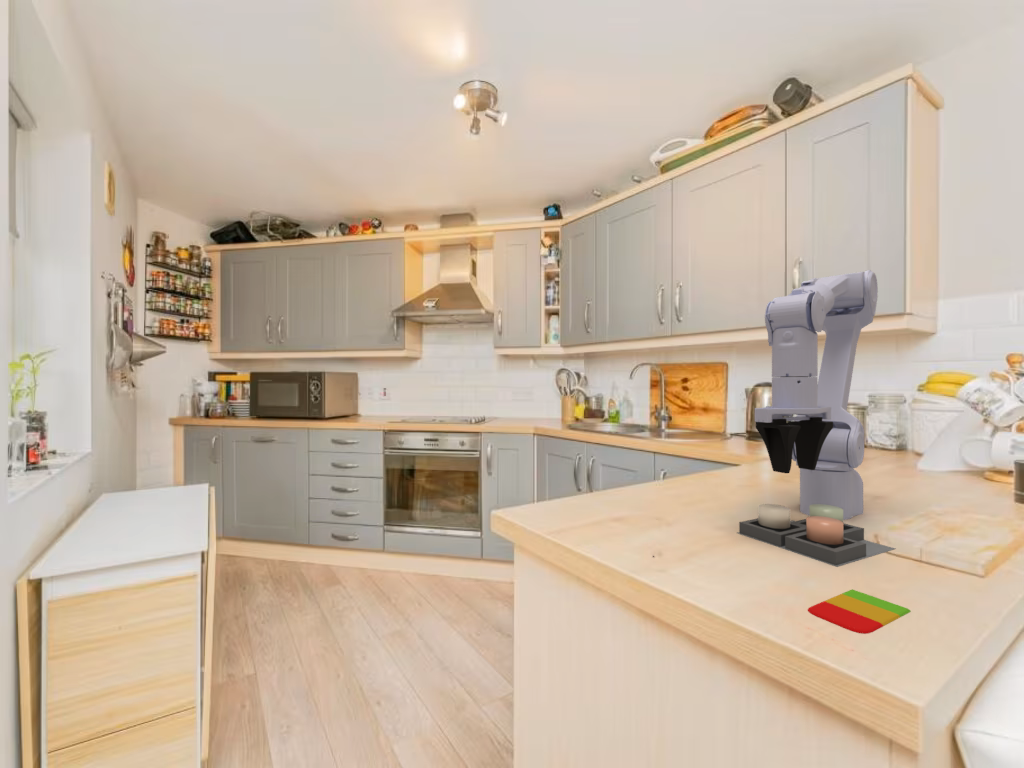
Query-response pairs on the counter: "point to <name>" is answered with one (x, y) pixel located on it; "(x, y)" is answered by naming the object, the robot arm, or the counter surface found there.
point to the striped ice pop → (858, 611)
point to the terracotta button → (824, 530)
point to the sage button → (826, 511)
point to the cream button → (774, 516)
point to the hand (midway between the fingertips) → (794, 470)
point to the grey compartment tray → (800, 544)
